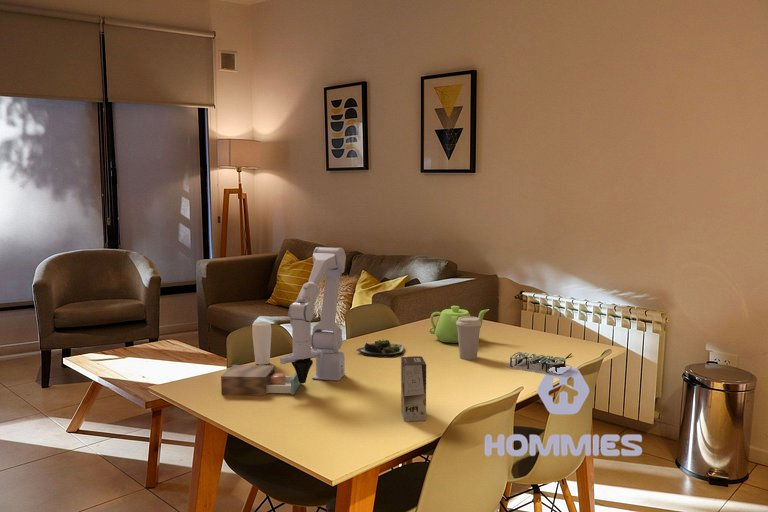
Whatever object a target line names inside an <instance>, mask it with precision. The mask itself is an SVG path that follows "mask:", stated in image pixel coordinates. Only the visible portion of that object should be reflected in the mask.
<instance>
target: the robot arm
mask: <svg viewBox="0 0 768 512" xmlns="http://www.w3.org/2000/svg"><path fill="white" fill-rule="evenodd" d="M346 260H347V255H346V252H345V249H344V248H343V247H325V246H324V247H323V246H322V247H321V246H317V247H315V248H314V250H313V253H312V262H313V266H312V269H311V273H310V275H309V278H308V282H305V283H303V284H302V287H301V289H300V291H299V293H298V295H297V297H296V299H295V301H294V302H292V303H291V304H290V305H289V306H288V307H289V308H288V313H287V316H288V319H289V322H290V323H289V324H290V326H291V328H292V329H291V331H292V353H290V354H287V355H283V356H280V357H279V363H280V364H281V365H286V364H290V363H291V364H292V367H293V368H294V370H295V373H297V376H298V380H299V382H300V383H301V385H302V384H305V383H307V377H308V375H309V372H310V369H311V368H312V365H313V363H314V362H313V359H315V373H314V375H313V376H312V377H311V379H312V380H323V381H326V380H327V381H335V382H336V381H340V380H341V379H342V378H343V377H344V376H345V375H346V372H345V370H346V369H345V354H344V352H343V351H342V352H341V351H340V349H341V348H342V345H343V329H342V328H341V327H340V326H339V325H338V324H337V323H336V317H337V309H338V300H339V293H340V285H341V282H340V281H341V277H342V276H341V275H342V274H344V273H345V269H346V262H347V261H346ZM324 276H325V280H324V287H323V296H322V305H321V311H320V321H318V323H317V324H314V325H313V327H312V325H311V323H312V322H311V321H312V320H313V319H314V315H315V309H316V305H315V304H316V301H317V299H318V297H319V294H320V292H321V290H320V288H319V286H320V284H321V282H322V281H323V279H324ZM311 327H312V328H311ZM311 329H312V331H311ZM312 349H313V350H312Z"/></svg>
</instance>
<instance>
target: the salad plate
mask: <svg viewBox="0 0 768 512" xmlns="http://www.w3.org/2000/svg"><path fill="white" fill-rule="evenodd" d="M404 349H405V346H404V345H403V344H401V343H400V344H399V343H391V342H390V340H388V339H386V340H385V339H379V340H376V341H374V342H373V343H372V342H371V343H367V342H366V343H365V344H364V345H363V346H362V347H359V348H357V349H356V352H359V353H361V354H362V355H364V356H366V357H378V358H393V357H398V356H401V354H403V352H404Z"/></svg>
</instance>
